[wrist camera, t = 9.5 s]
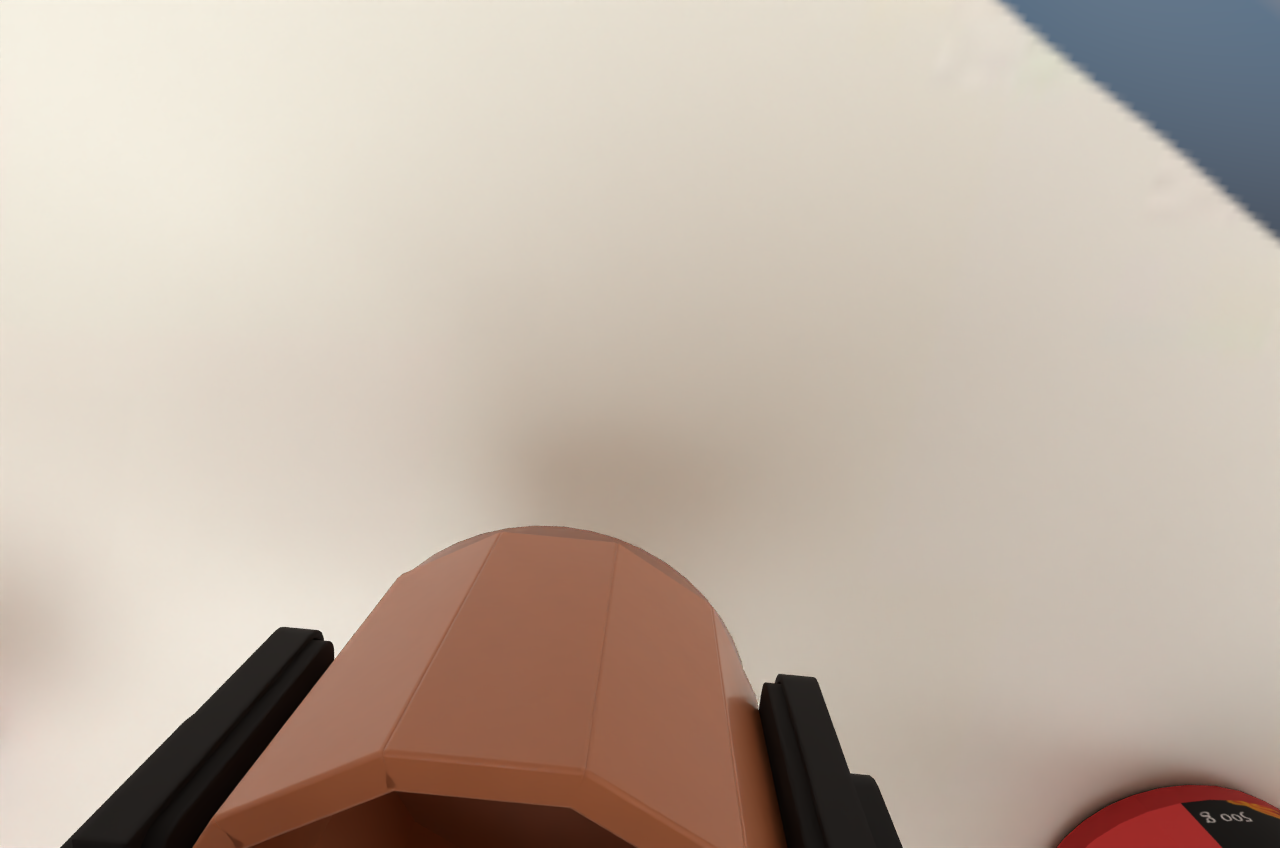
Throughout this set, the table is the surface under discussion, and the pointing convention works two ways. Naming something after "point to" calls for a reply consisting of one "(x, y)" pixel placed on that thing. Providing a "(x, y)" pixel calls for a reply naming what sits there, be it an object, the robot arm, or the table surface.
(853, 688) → the table surface
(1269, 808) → the canned food
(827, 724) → the robot arm
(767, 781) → the copper pan
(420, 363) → the table surface
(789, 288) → the table surface
